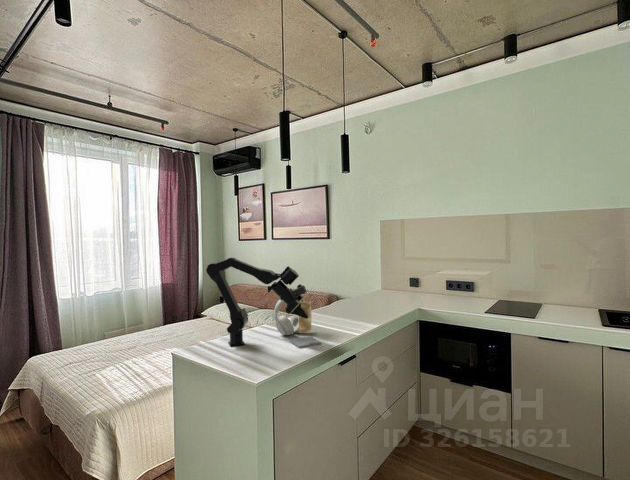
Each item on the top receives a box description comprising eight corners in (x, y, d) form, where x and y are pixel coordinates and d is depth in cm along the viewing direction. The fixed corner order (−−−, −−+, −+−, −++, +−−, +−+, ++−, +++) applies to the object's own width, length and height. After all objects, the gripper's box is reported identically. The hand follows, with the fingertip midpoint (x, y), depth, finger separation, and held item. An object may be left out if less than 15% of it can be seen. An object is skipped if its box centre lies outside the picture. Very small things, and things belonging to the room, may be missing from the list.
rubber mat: (289, 341, 151) (289, 339, 151) (310, 337, 155) (310, 336, 155) (298, 348, 141) (298, 346, 141) (321, 344, 146) (321, 342, 146)
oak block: (299, 332, 144) (298, 303, 144) (300, 330, 149) (300, 301, 149) (310, 333, 143) (310, 303, 143) (311, 330, 148) (311, 301, 148)
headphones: (280, 340, 153) (279, 297, 153) (270, 335, 161) (269, 295, 162) (312, 332, 164) (311, 293, 164) (301, 328, 172) (300, 291, 173)
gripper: (292, 282, 137) (319, 308, 136) (298, 277, 156) (322, 300, 155) (274, 300, 138) (300, 326, 137) (282, 293, 156) (305, 316, 155)
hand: (308, 316), depth 146 cm, fingers closed on oak block, 5 cm apart
